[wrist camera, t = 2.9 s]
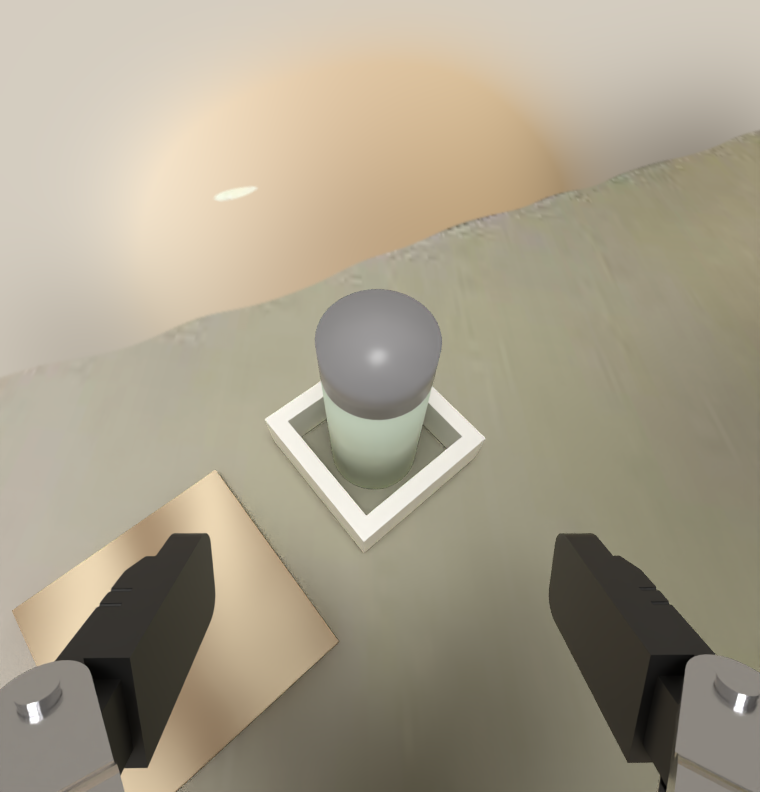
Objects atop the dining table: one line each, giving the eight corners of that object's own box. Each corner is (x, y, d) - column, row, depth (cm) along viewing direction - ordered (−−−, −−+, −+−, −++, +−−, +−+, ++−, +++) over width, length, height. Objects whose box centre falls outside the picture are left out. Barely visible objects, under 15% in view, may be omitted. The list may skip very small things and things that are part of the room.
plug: (378, 397, 27) (385, 271, 18) (432, 454, 25) (468, 345, 17) (315, 443, 25) (289, 330, 17) (368, 506, 24) (370, 417, 15)
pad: (218, 474, 24) (215, 469, 24) (339, 641, 21) (338, 641, 20) (20, 612, 21) (11, 610, 21) (124, 839, 18) (116, 844, 17)
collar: (381, 363, 28) (383, 338, 26) (475, 457, 25) (485, 438, 23) (273, 439, 25) (264, 419, 23) (364, 553, 23) (363, 541, 21)
